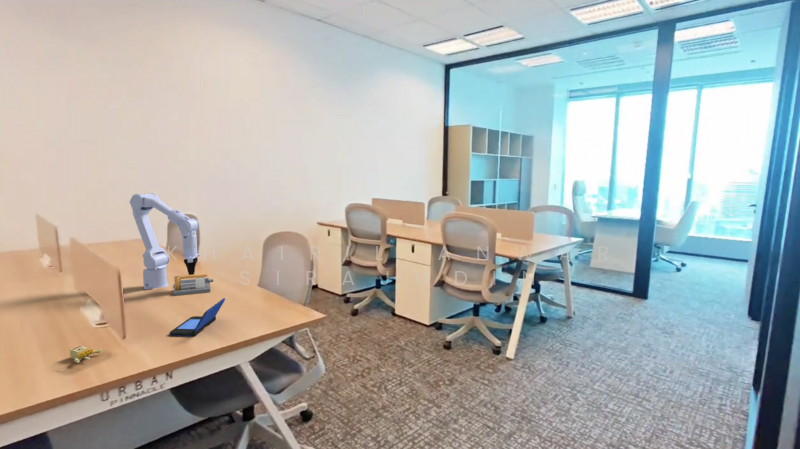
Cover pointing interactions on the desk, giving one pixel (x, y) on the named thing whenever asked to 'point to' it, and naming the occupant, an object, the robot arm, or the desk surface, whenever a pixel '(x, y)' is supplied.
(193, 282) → the tray
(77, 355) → the character toy
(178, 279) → the clip
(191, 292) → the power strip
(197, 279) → the plug
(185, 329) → the handheld game console
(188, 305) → the desk surface
